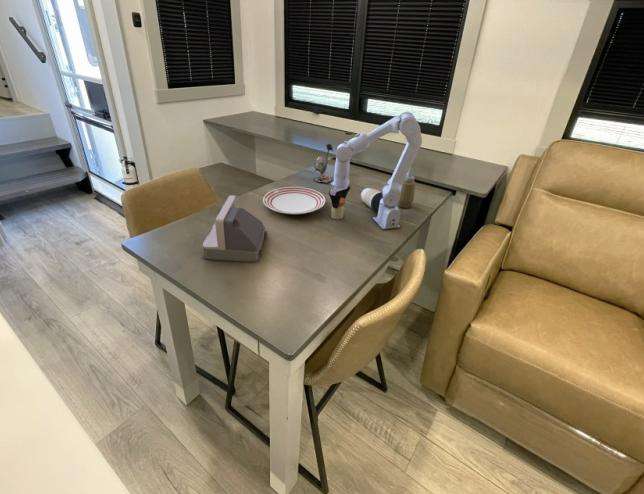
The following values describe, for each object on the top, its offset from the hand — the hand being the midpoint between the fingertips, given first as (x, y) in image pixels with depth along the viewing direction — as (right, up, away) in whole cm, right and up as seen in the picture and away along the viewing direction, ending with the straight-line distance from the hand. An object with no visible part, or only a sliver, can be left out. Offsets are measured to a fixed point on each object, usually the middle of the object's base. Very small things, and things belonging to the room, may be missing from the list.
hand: (338, 205), depth 137 cm
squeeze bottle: (+31, 0, +16) cm, 35 cm away
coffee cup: (+14, +5, +15) cm, 22 cm away
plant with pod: (-7, +15, +37) cm, 40 cm away
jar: (0, -5, +3) cm, 5 cm away
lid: (0, +2, -1) cm, 2 cm away
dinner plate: (-19, 0, +9) cm, 21 cm away
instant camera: (-37, -15, -21) cm, 45 cm away
